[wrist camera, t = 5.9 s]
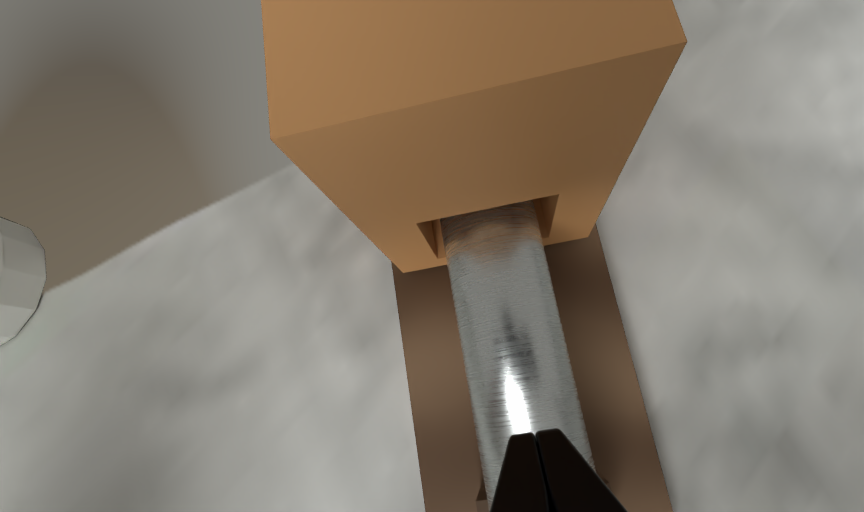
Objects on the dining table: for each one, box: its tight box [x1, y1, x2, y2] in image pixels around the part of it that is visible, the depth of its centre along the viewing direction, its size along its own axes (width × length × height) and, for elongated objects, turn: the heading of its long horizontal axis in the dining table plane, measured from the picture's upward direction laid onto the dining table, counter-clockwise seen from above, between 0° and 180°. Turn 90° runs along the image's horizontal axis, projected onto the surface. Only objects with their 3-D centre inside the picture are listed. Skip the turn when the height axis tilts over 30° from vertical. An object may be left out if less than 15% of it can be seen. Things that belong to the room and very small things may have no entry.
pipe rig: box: [392, 199, 673, 512], centre depth 16 cm, size 18×8×6 cm, turn 9°
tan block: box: [261, 0, 687, 273], centre depth 14 cm, size 5×7×10 cm
